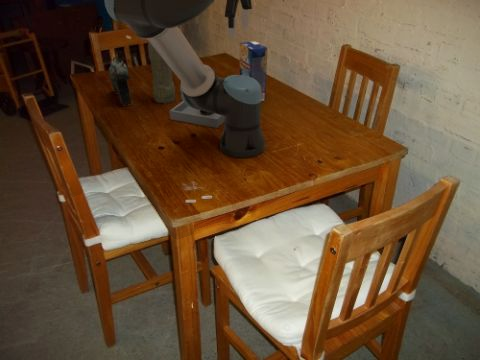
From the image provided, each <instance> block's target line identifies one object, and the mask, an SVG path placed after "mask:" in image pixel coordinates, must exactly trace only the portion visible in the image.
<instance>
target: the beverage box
mask: <svg viewBox="0 0 480 360" xmlns="http://www.w3.org/2000/svg"><path fill="white" fill-rule="evenodd" d="M267 63H268V47H267V46H265V45H263V44H261V43H259V42H257V41H256V40H253V41H246V42H239V76H240V75H244V76H248V77H251V78H253V79H255V80H256V81H258V83H259V84H260V86H261V95H262V100H261V102H263V101H264V102H265V101H266V94H267V93H266V92H267V91H266V90H267V69H268V68H267V67H268V65H267Z"/></svg>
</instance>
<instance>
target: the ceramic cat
mask: <svg viewBox="0 0 480 360" xmlns="http://www.w3.org/2000/svg"><path fill="white" fill-rule="evenodd" d="M115 56H116V57H113V59H112V61H110V65H109V66H110V67H108V73H109V79H110V81H111V82H110V83H111V86H112V89H113V90H114V91H115V92H114V94H115V93H118V94H117V95H118V96H119V101H120V105H121V106H122V105H128V104H131V105H132V101H131V100H132V99H131V93H130V87H129V83H128V80H129V79H130V75H129V70H128V67H127V64H126V63H125V62H124V60H121V61H119V57H118V52H115Z"/></svg>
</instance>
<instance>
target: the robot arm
mask: <svg viewBox="0 0 480 360" xmlns="http://www.w3.org/2000/svg"><path fill="white" fill-rule="evenodd" d="M215 1H216V0H104V6H105V9H106V12H107V14H108V15H109V16H110V18H111V19H112V20H114V21H116V22H119V23H125V24H126V25H128V27H129V28H130V30H132V32H133V33H134V34H135V35H136V36H137V37H138V38H139V39H142V40H147V41H148V42H150V43H151V44H152V46H153V47H154V48H155V49H156V51H157V52H158V53H159V54H160V56H161V57H162V58H163V59H164V61H165V62H166V63H167V64H168V66H169V67H170V68H171V69H172V73H174V74H175V76H176V77H177V78H178V79H179V81H180V86H179V88H180V89H179V90H180V91H179V92H181V93H180V98H181V99H182V101H184V103H185V104H186V105H188V106H190V107H192V108H194V109H198V110H203V111H207V112H211V113H215V114H219V115H223V116H225V122H224V128H223V131H222V133H221V134H222V135H221V136H220V140H219V149H220V151H221V152H222V153H223V154H225V155H226V156H230V157H231V158H232V157H233V158H237V157H239V158H238V159H242V158H243V159H244V158H245V157H248V158H252V157H256V156H259V155H260V154H262V153H264V151H265V149H266V140H265V137H264V134H263V131H262V127H261V119H262V117H261V114H262V113H261V112H262V101H261V100H262V95H261V86H260V84H259V83H258V81H256V80H255V79H253V78H251V77H248V76H244V75H240V74H232V75H228V76H226V77H225V78H223V77H219V76H218V75H217V73H215V71H214V70H213V68H212V67H210V65H208V64H204V63H203V61H202V60H201V59H200V58H199V56H198V55H197V53H196V51H195V50H194V49H193V47H192V46H191V44H190V43H189V41H188V40H187V39H186V38H187V37H185V36H184V34H183V32H182V31H181V29H180V28H179V27H180V26H182V25H185V24H187V23H189V22H190V21H192V20H194V19H195V18H197V17H199V16H200V15H201V14H202V13H204V12H205V11H206V10H208V9H209V7H211V5H212V4H213V3H215ZM239 1H240V5H241V8H242V9H240V10H241V11H240V14H241V16H240V17H241V18H240V29H241V30H249V29H250V10H252V9H253V6H252V0H226V3H225V10H224V18H227V38H228V39H237V17H236V14H237V9H238V5H239ZM258 154H259V155H258ZM245 159H246V158H245Z"/></svg>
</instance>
